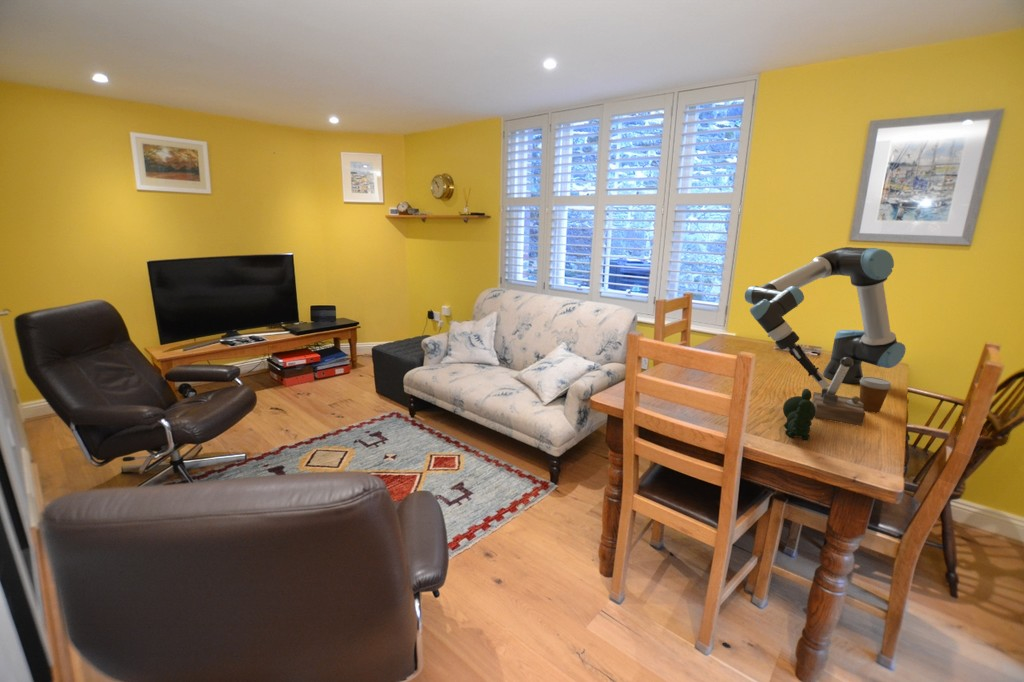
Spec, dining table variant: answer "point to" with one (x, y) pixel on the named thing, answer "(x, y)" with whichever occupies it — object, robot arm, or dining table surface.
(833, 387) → the lever
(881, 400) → the disposable coffee cup
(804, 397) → the toy figurine
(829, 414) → the base
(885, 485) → the dining table surface
